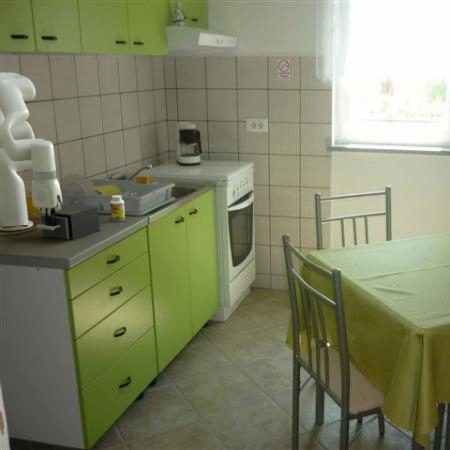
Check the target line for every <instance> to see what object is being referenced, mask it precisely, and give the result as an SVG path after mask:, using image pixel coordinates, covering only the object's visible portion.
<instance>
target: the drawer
mask: <svg viewBox="0 0 450 450" xmlns="http://www.w3.org/2000/svg"><path fill="white" fill-rule="evenodd" d="M40 221H41V224H36V229H40V230H42V236H43V237H49V238H57V239H62V240H69V236H71V229H70V218H69V217H67V216H59V215H55V225H54V226H46V225H45V216H44V215H43V214H41V215H40Z"/></svg>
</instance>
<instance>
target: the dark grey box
mask: <svg viewBox="0 0 450 450" xmlns="http://www.w3.org/2000/svg"><path fill="white" fill-rule="evenodd" d="M61 209H62V210H60V211H57V212H56V214H55V215H59V216H67V217H69V218H70V229H71V236H69V239H68V240H70V241H74V240H77V239H80V238H83V237H85V236H88V235H91V234H93V233H97V232H98V231H100V220H99V219H100V217H99V208H98V206H97V205H89V204H88V205H87V204H80V203H69V204H66V205H65V204H64V205H61ZM51 210H52V209H51Z"/></svg>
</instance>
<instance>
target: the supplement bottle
mask: <svg viewBox="0 0 450 450" xmlns="http://www.w3.org/2000/svg"><path fill="white" fill-rule="evenodd" d="M109 207H110V208H109V209H110V217H111V218H110V220H111V221H112V222H124V221H125V220H126V210H125V201H124V200H123V197H122V195H120V194H119V195H118V194H115V195H112V196H111V200H110V202H109Z"/></svg>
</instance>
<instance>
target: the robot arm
mask: <svg viewBox="0 0 450 450" xmlns="http://www.w3.org/2000/svg"><path fill="white" fill-rule="evenodd" d="M35 97H36V87H35V85H34V83H33V82H32V81H31V80H30V78H28V77H27V76H24V75H22V74H19V73H17V72H4V71H3V72H2V71H1V72H0V146H2V147H0V225H3V226H17V225H28V226H27V227H22V228H15V229H3V228H0V231H6V232H7V231H8V232H10V231H11V232H13V231H14V232H15V231H21V230H22V231H23V230H26V229H29V228H32V227H33V226H34V222H33V221H31V220H29V213H28V205H27V196H26V188H25V182H24V180H23V178H22V177H21V176H20V175H19V174H18V173H17V172H22V171H29V170H32V173H31V174H32V176H33V179H32V181H31V203H32V206H33V207H35V208H36V209H37V210H39V211H40V212H41V213H42V215H44V216H45V225H46V226H54V225H55V214H56V212H57V211H60V210H62V209H61V207H62V206H63V196H62V190H61V185H60V182H59V179H58V178H57V166H56V159H55V150H54V144H53V142H52V141H51V140H45V139H44V138H38V137H37V138H36V137H35V133H34V130H33V128H32V126H31V124H30V123H29V122H28V121H27V119H29V116H30V111H29V109H28V107H27V104H26V102H25V101H33V100H34V99H35ZM51 209H52V210H51Z"/></svg>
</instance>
